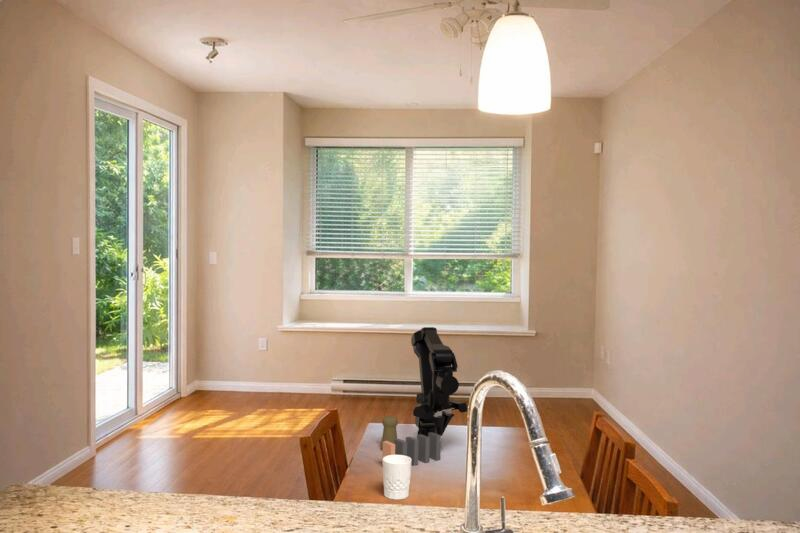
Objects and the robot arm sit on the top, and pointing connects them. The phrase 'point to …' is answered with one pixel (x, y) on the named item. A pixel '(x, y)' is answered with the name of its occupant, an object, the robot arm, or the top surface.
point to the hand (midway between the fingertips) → (440, 435)
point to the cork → (389, 429)
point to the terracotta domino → (387, 449)
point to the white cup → (396, 476)
